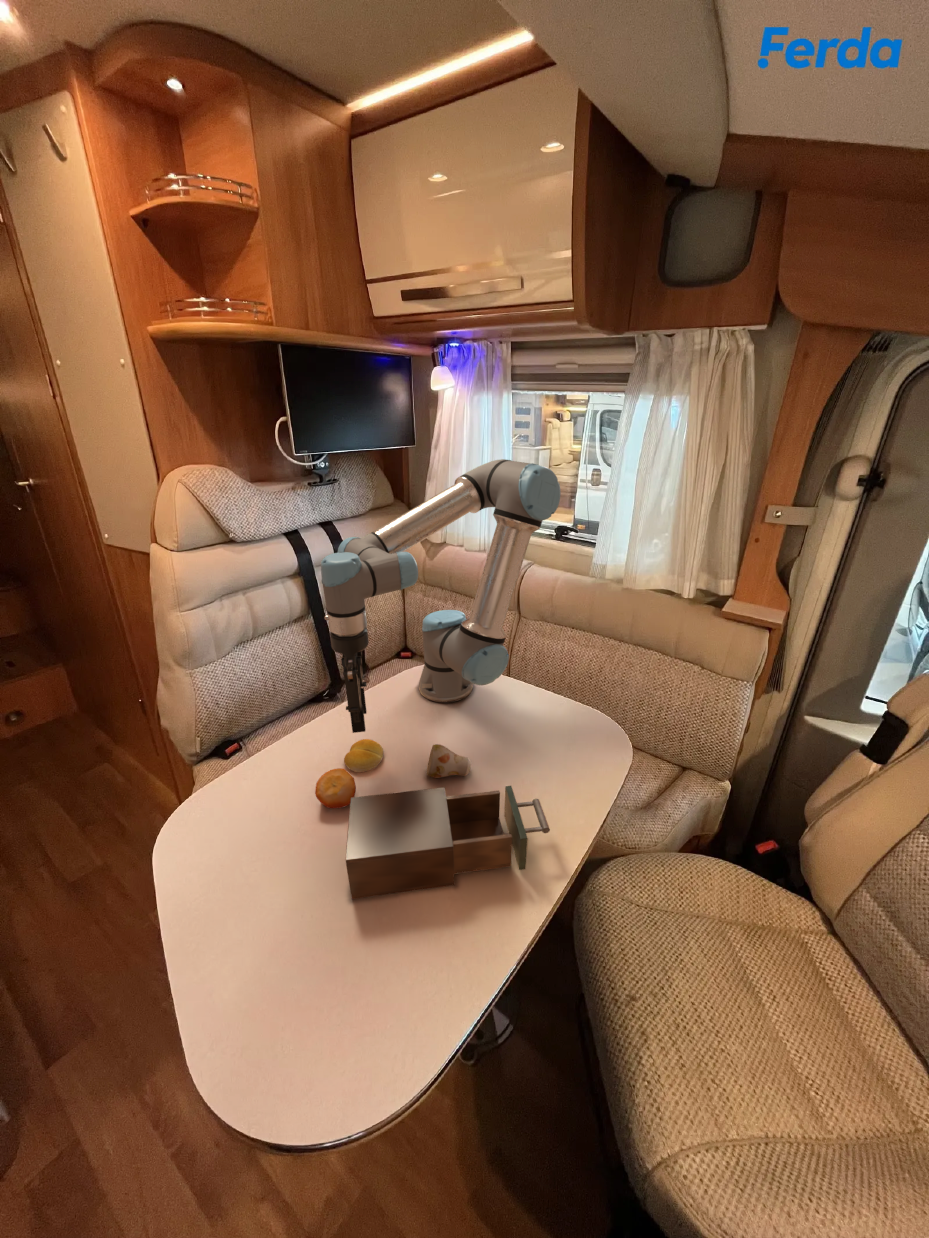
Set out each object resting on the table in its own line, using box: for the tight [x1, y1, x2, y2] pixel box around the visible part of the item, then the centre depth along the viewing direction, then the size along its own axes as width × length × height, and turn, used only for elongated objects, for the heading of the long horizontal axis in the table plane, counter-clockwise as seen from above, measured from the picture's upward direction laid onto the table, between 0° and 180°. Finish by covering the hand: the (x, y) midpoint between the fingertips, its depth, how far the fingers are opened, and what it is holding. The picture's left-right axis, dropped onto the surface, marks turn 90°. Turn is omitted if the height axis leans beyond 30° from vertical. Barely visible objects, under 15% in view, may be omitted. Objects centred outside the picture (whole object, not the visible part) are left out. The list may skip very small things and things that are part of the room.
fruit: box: [314, 767, 357, 810], centre depth 104 cm, size 8×8×8 cm
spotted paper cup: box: [426, 743, 472, 779], centre depth 110 cm, size 8×10×10 cm
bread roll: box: [343, 738, 384, 773], centre depth 115 cm, size 8×9×4 cm
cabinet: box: [345, 786, 455, 900], centre depth 90 cm, size 18×14×10 cm
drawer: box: [446, 785, 551, 875], centre depth 92 cm, size 21×12×8 cm, turn 98°
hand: (359, 721), depth 111 cm, fingers open, 6 cm apart
